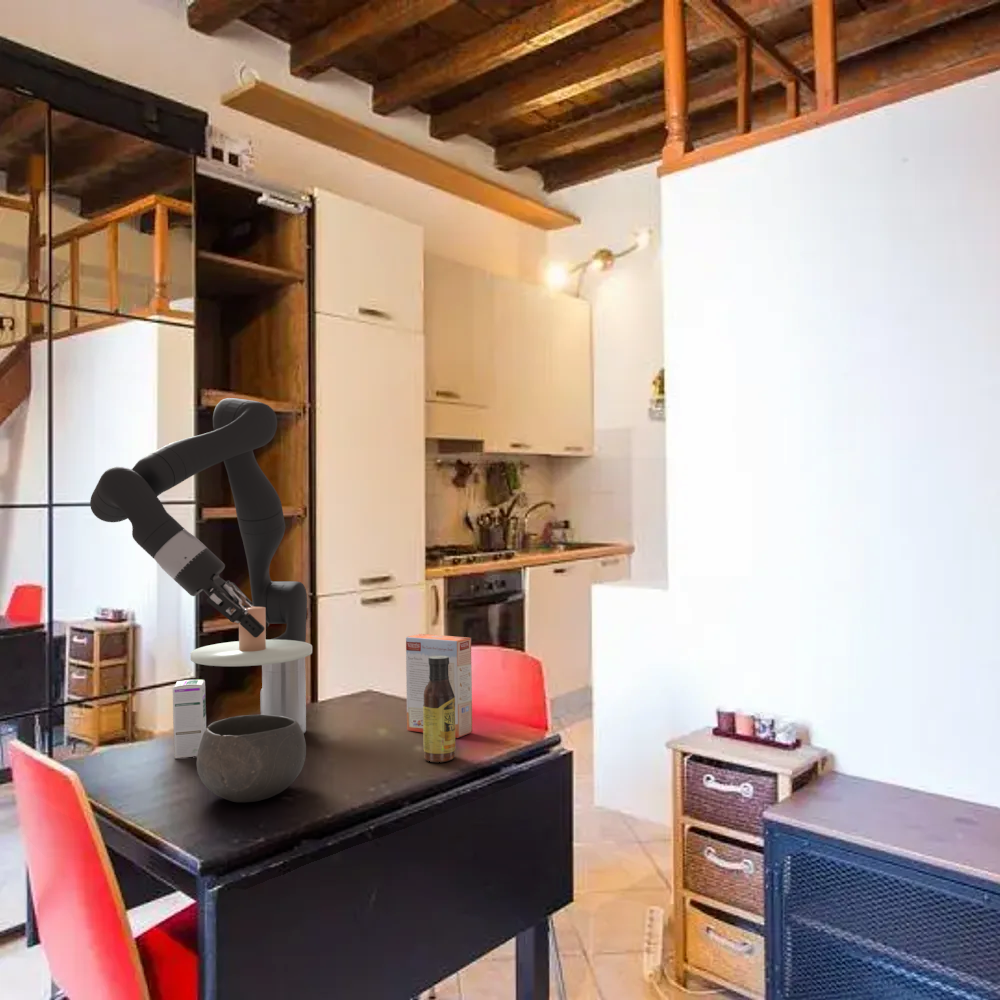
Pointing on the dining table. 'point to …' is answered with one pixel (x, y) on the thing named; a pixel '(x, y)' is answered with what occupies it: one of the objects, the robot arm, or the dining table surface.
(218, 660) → the lid
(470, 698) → the cracker box
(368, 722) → the dining table surface
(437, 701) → the sauce bottle
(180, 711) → the syrup box
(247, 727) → the bowl
